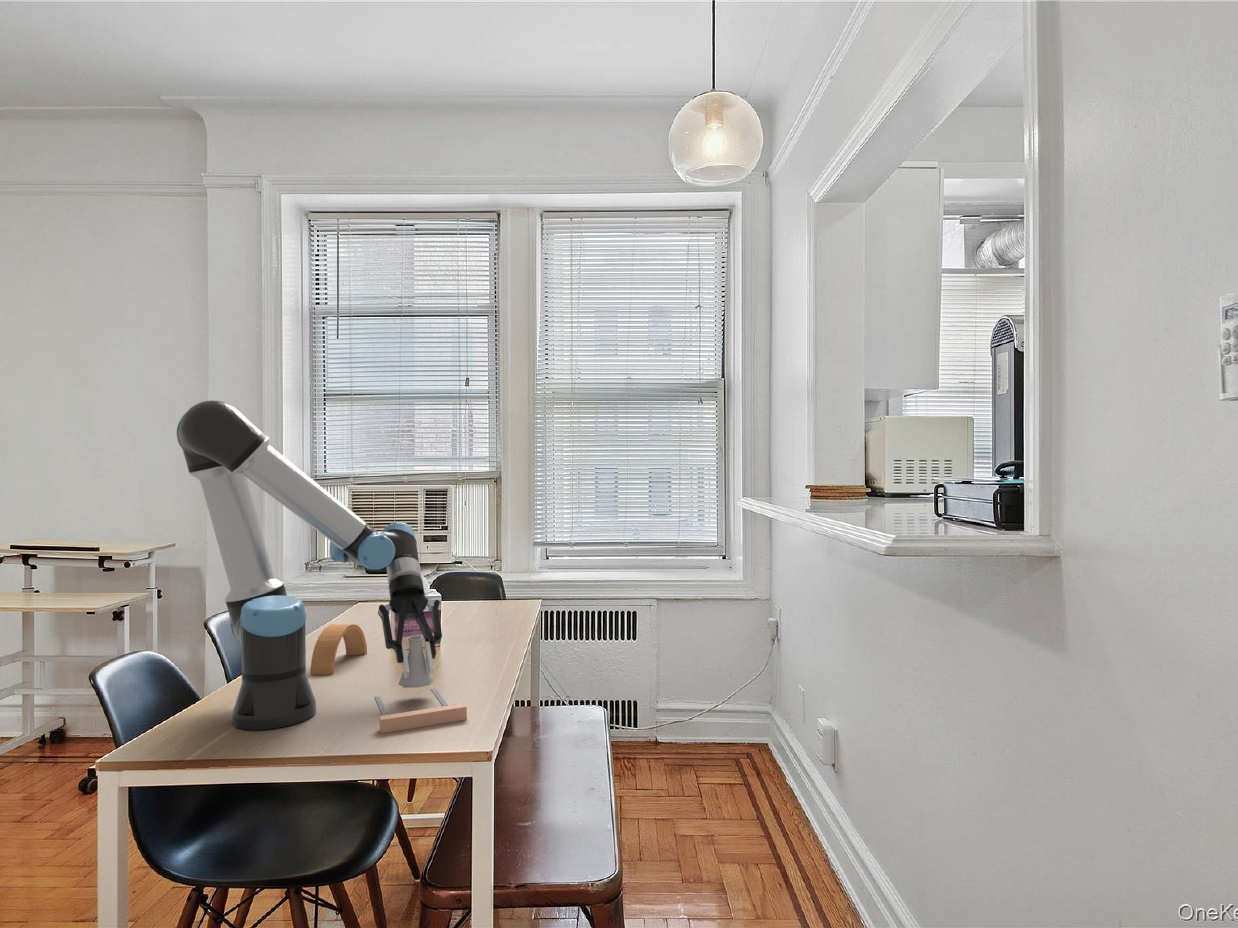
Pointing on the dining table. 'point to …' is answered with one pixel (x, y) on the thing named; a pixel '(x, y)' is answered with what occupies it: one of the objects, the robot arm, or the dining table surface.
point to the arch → (336, 646)
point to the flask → (416, 666)
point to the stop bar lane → (421, 716)
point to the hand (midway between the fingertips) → (419, 673)
